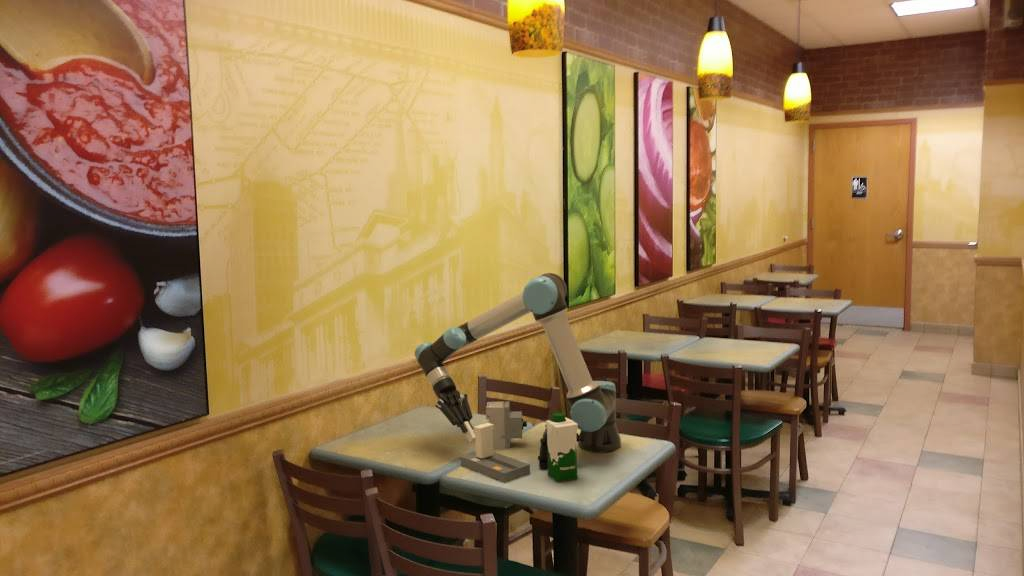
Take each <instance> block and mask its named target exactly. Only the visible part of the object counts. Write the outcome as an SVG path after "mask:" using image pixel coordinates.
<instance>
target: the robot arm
mask: <svg viewBox="0 0 1024 576" xmlns="http://www.w3.org/2000/svg"><path fill="white" fill-rule="evenodd" d="M567 289H568V288H567V284H566V282H565V280H564V279H563V277H561V276H560V275H558V274H556V273H552V272H548V273H543V274H541V275H539V276H535V277H533V278H532V279H530V280H529V282H527V284H526V285H525V286H524V288H523V291H522V292H520V293H519V294H516V295H514V297H511V298H509V299H507V300H506V301H504V302H502V303H500V304H498V305H496V306H494V307H493V308H491V309H488V310H487V311H485V312H483V313H481V314H479V315H478V316H475V317H473V318H472V319H470V320H469V321H466V322H464V323H463V324H460V325H459V326H451V327H450V328H448V329H447V330H445V331H444V333H443V334H442V335H440V336H439V337H438V338H437V339H436V340H435V341H434V342H433V343H432V342H427V341H426V342H423V343H422V344H420V345H418V346H417V347H416V348H415V350H414V356H415V358H416V361H417V363H418V365H419V367H420V368H421V370H422V371H423V374H424V375H425V377H426V379H427V381H428V383H429V385H430V386H431V388H432V391H433V392H434V394H435V396H436V397H437V399H438V400H437V401H436V403H435V405H434V406H435V407H436V408H437V409H438V410H439V411H440V412H441V413H442V414H443V415H444V416H445V417H446V419H447V420H448V421H449V422H450V423H451V425H452V426H454V427H455V426H456V428H459V429H460V430H461V432H462V433H463V434H464V435H465V436H466V438H467V440H468V442H469V443H471V442H474V441H476V435H475V431H474V426H473V424H472V423H471V420H472V419H473V414H472V411H471V407H470V403H469V401H468V394H467V393H465V394H461V393H460V391H459V390H457V386H456V385H457V384H456V383H455V382H454V380H453V378H452V377H451V375H450V373H449V371H448V369H447V367H446V365H445V363H444V362H446V361H447V360H448V359H449V358H450V357H452V355H453V354H455V353H456V352H458V351H459V350H461V349H463V348H465V347H466V346H469V345H471V344H473V343H475V342H477V341H478V340H480V339H482V338H484V337H486V336H487V335H489V334H491V333H493V332H495V331H497V330H499V329H501V328H503V327H505V326H506V325H508V324H511V323H512V322H514V321H517V320H518V319H520V318H523V317H524V316H526V315H528V314H530V313H532V315H533V318H534V320H535V322H537V323H539V324H541V325H542V328H543V330H544V333H545V335H546V338H547V341H548V343H549V344H550V345H549V346H550V348H551V351H552V353H553V355H554V357H555V360H556V362H557V365H558V368H559V369H560V372H561V374H562V378H563V379H564V382H565V384H566V387H567V390H568V391H567V394H566V399H567V401H568V405H569V408H570V411H569V415H570V420H572V421H574V422H575V423H577V424H578V428H577V430H580V431H579V433H578V434H579V438H578V439H579V442H577V448H579V449H581V450H583V451H586V452H590V453H610V452H614V450H615V451H617V450H619V449H620V448H621V447H622V439H621V435H620V432H619V430H618V426H617V419H616V418H617V412H616V410H617V408H616V407H617V402H616V401H617V399H616V398H617V397H616V396H617V390H616V384H615V383H614V382H612V381H606V380H605V381H604V380H593V378H592V376H591V373H590V372H589V369H588V366H587V364H586V362H585V359H584V357H583V354H582V352H581V349H580V347H579V344H578V342H577V340H576V339H577V338H576V337H575V334H574V331H573V330H572V327H571V324H570V322H569V319H568V317H567V311H568V308H569V307H568V305H567V303H566V300H565V298H566V296H567ZM618 448H619V449H618ZM616 449H617V450H616Z"/></svg>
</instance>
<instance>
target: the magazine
mask: <svg viewBox="0 0 1024 576" xmlns="http://www.w3.org/2000/svg"><path fill="white" fill-rule="evenodd" d="M544 426H545V430H544V432H543V435H542V438H540V440H539V442H540V447H539V455H537V460H538V468H539V469H540V470H542V471H543V470H548V452H547V428H546V424H545V425H544ZM579 434H580V433H578V432H577V443H578V442H579V439H578V438H579Z"/></svg>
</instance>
